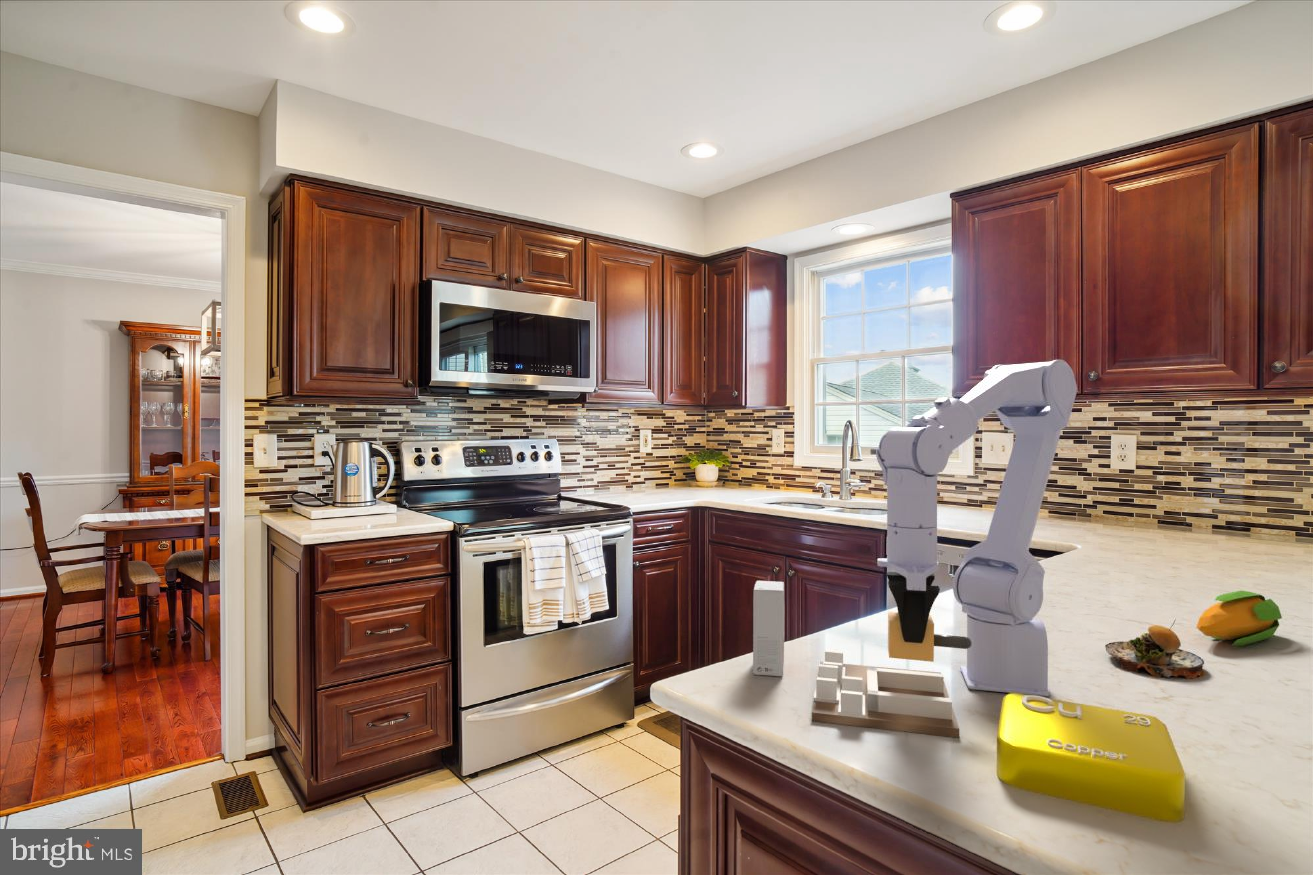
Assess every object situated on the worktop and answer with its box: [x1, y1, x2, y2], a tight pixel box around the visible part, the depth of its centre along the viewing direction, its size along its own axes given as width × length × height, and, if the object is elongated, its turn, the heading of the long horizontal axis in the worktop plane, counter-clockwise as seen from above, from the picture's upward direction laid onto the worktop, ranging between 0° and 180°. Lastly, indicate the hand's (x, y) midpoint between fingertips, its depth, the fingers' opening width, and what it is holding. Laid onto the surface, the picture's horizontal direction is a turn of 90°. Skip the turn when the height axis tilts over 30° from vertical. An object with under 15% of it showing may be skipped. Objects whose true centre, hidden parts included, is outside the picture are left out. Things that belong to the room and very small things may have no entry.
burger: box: [1104, 618, 1206, 680], centre depth 99 cm, size 12×12×8 cm
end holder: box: [867, 666, 953, 720], centre depth 84 cm, size 9×9×2 cm
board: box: [811, 661, 960, 739], centre depth 87 cm, size 16×18×1 cm
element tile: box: [996, 693, 1186, 823], centre depth 69 cm, size 15×15×5 cm
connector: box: [887, 611, 972, 663], centre depth 83 cm, size 9×4×4 cm, turn 74°
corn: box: [1196, 590, 1283, 647], centre depth 110 cm, size 7×8×20 cm
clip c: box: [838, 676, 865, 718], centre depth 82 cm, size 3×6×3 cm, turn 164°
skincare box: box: [752, 580, 785, 677], centre depth 98 cm, size 6×4×12 cm
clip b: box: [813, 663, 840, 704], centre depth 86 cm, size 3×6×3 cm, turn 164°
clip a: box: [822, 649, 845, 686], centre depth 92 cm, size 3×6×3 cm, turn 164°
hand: (911, 636), depth 84 cm, fingers closed on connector, 4 cm apart
